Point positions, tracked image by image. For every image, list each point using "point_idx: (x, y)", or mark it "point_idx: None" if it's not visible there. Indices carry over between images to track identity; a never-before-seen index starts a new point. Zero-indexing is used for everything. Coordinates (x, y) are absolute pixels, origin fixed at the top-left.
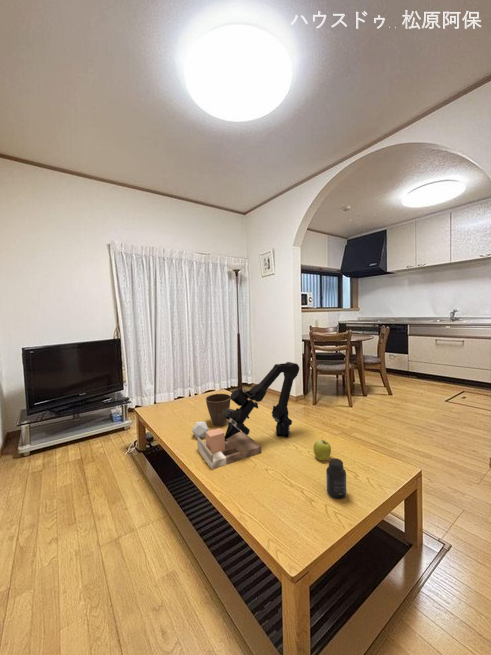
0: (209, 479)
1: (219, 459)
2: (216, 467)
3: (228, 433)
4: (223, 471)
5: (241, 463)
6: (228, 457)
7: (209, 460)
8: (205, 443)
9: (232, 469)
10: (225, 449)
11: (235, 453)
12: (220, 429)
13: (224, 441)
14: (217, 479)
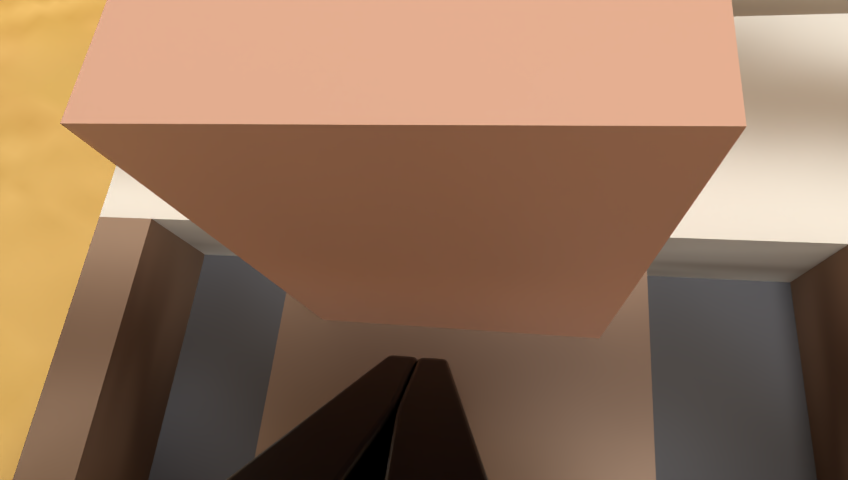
0: (94, 5)
1: None
2: None
3: (255, 469)
4: (82, 163)
5: (18, 453)
6: (91, 259)
7: None
8: (799, 100)
9: (25, 269)
10: (325, 332)
11: (69, 423)
12: (527, 112)
13: (247, 256)
14: (32, 64)
